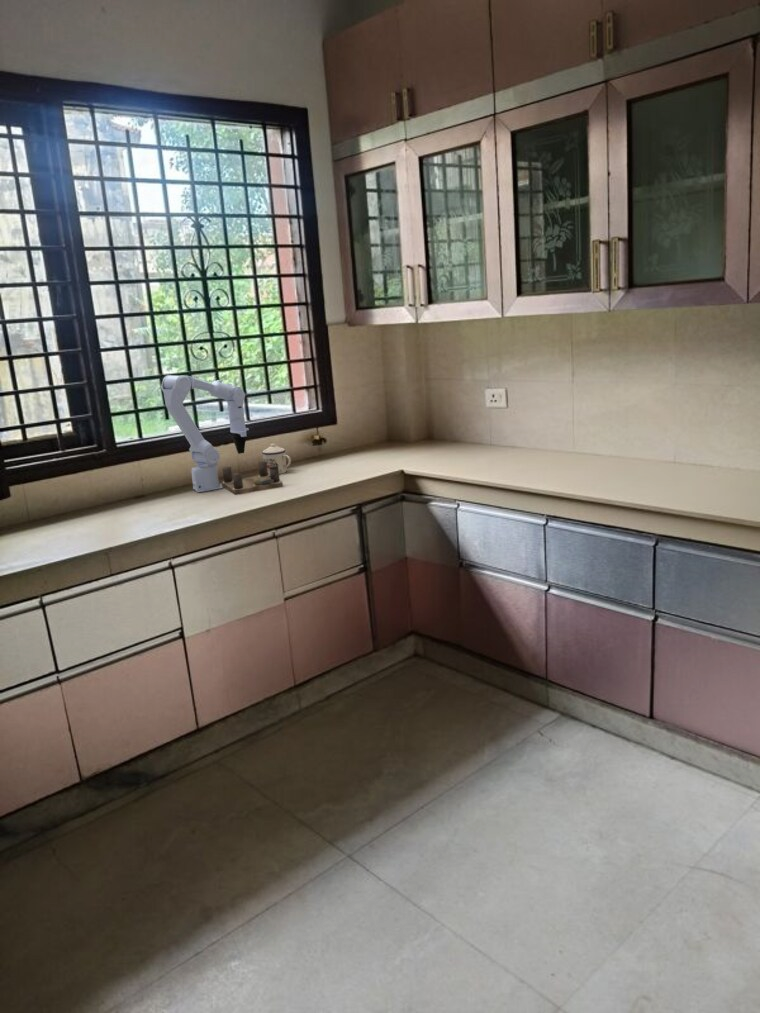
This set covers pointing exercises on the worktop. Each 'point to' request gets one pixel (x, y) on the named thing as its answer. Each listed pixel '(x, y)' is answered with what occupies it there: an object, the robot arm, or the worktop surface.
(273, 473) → the crank handle
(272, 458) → the teacup with lid
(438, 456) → the worktop surface
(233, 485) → the peg board with pegs
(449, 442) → the worktop surface
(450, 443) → the worktop surface
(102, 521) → the worktop surface
